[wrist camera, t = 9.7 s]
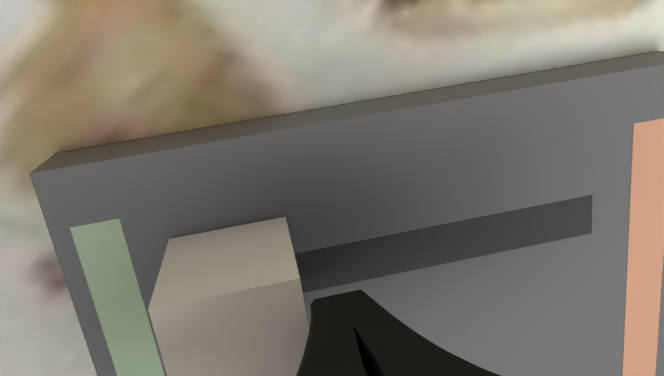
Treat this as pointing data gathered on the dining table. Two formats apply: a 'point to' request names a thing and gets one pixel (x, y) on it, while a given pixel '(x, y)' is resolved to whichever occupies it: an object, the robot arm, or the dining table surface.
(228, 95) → the dining table surface
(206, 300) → the handle
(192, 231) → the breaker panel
